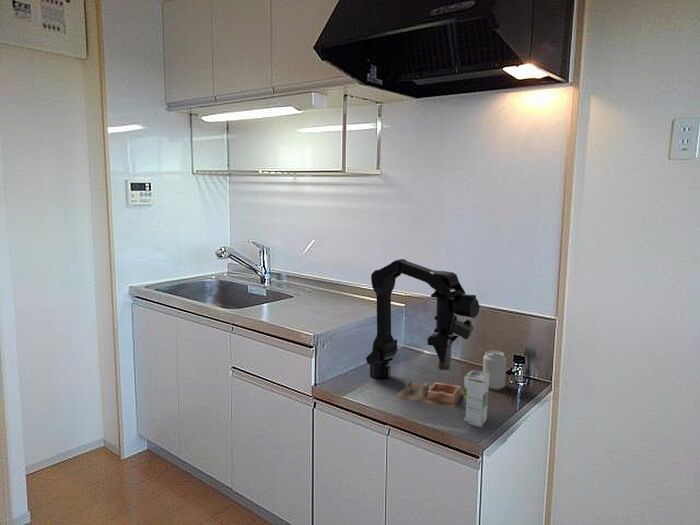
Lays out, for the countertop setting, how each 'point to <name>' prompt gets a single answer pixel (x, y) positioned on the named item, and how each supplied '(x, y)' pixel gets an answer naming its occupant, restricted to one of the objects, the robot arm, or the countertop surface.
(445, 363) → the cell
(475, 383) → the syrup box
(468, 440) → the countertop surface
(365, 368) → the countertop surface
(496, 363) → the can
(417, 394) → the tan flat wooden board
